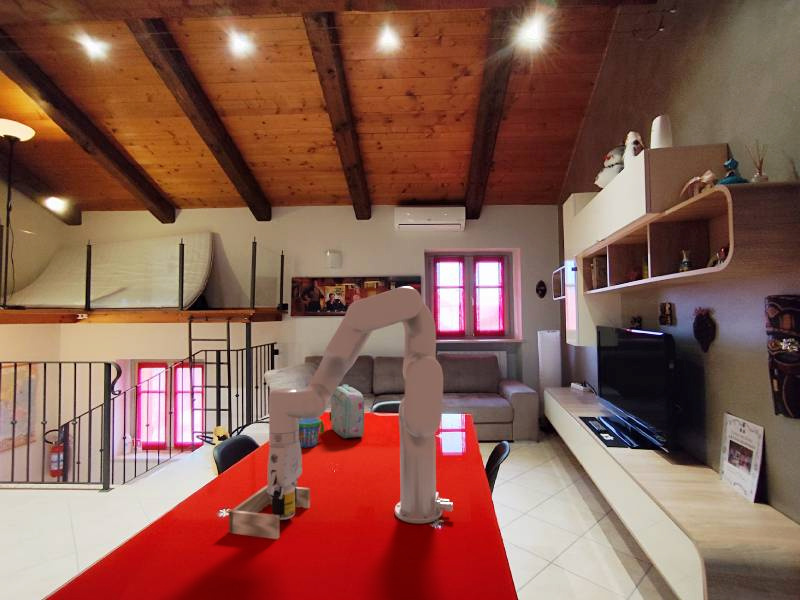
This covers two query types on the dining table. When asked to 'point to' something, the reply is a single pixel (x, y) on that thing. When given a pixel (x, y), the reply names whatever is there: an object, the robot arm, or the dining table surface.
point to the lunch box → (347, 412)
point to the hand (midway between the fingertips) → (284, 507)
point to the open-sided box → (261, 514)
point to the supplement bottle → (288, 501)
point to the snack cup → (309, 431)
